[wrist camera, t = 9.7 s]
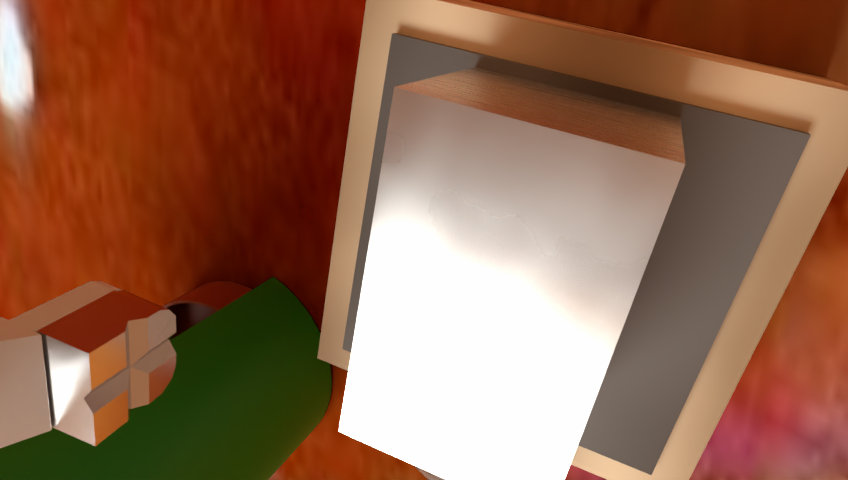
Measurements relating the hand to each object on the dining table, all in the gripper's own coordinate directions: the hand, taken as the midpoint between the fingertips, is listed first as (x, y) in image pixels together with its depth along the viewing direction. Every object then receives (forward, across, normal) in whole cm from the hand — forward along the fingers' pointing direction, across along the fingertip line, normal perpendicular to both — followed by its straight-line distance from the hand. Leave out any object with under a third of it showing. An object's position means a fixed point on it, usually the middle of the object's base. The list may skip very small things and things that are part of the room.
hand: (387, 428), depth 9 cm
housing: (+8, -1, 0) cm, 8 cm away
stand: (+13, -1, 0) cm, 13 cm away
